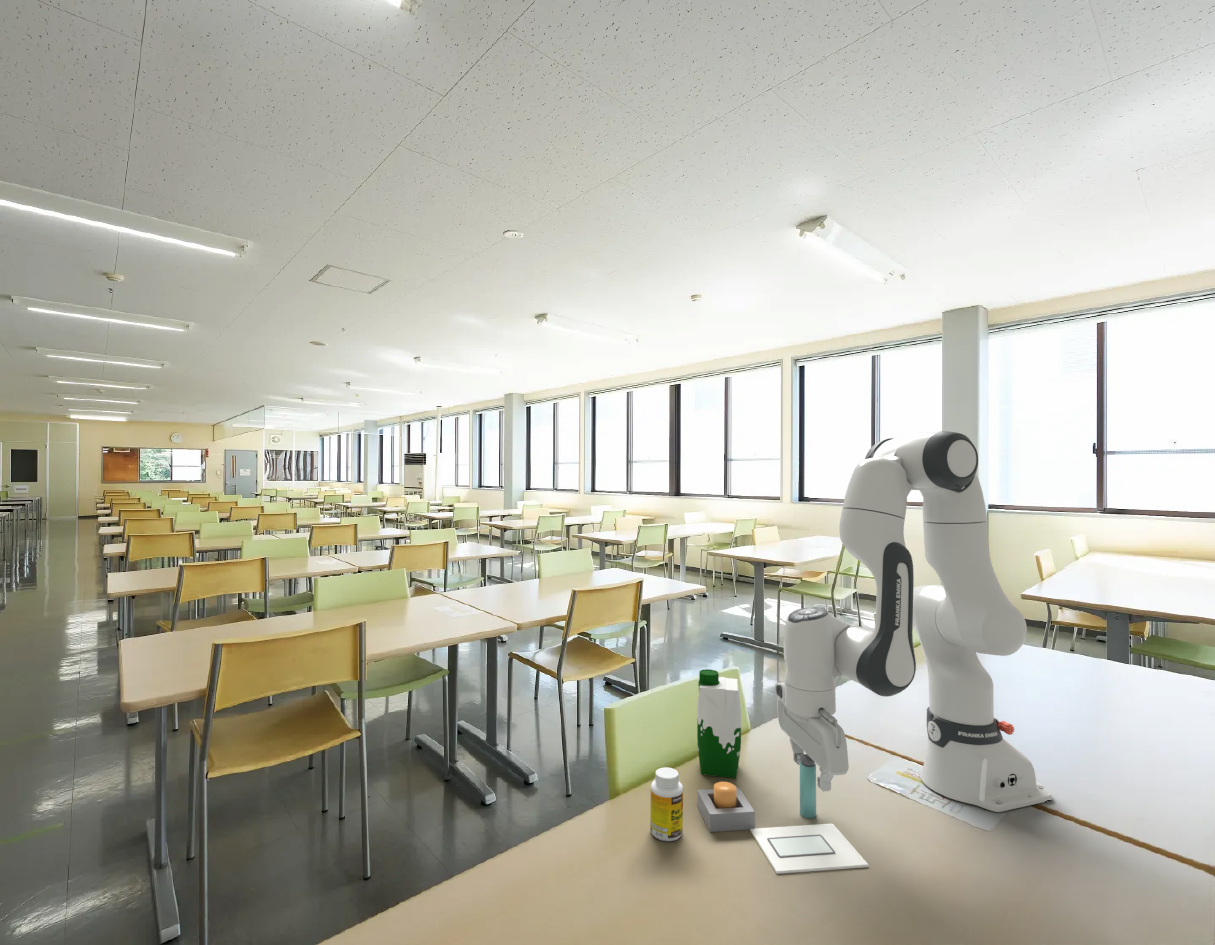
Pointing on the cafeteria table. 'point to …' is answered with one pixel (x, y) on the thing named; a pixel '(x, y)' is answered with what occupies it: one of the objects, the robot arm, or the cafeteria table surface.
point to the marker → (807, 787)
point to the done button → (724, 795)
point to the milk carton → (718, 724)
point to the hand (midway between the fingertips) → (811, 775)
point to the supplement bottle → (666, 805)
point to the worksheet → (807, 848)
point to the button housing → (725, 813)
